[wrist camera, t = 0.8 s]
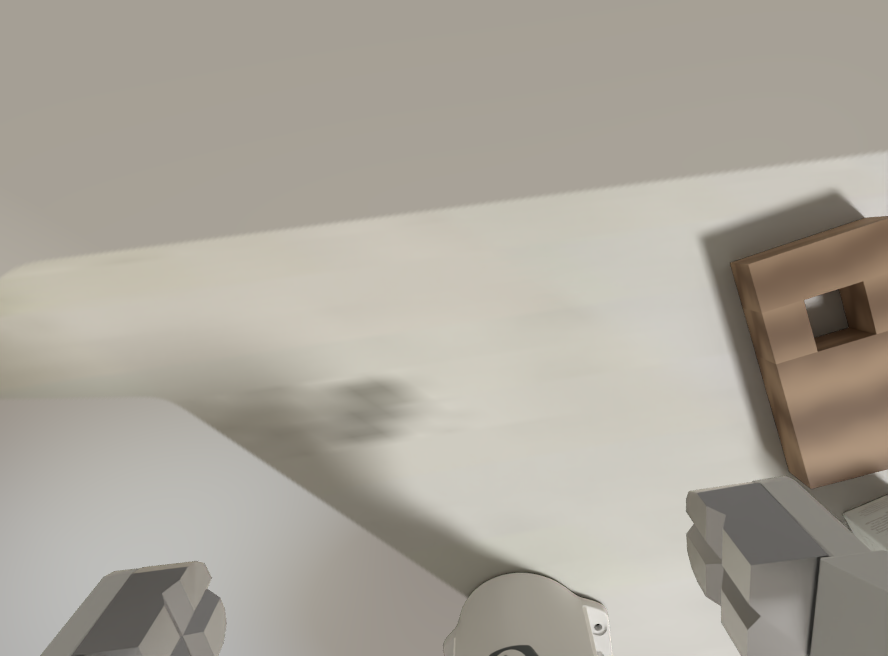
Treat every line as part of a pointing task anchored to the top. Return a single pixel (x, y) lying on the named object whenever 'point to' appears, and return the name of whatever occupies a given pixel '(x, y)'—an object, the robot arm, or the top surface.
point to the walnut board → (824, 349)
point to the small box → (870, 523)
